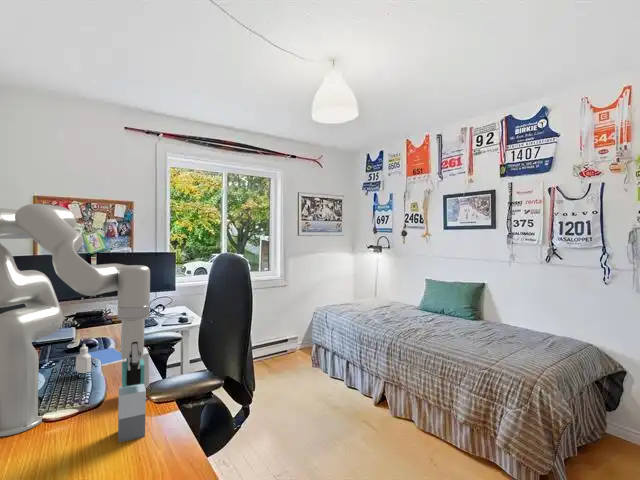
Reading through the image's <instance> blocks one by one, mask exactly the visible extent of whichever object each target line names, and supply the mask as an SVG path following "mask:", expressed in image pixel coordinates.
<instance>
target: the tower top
mask: <svg viewBox="0 0 640 480" xmlns="http://www.w3.org/2000/svg"><path fill="white" fill-rule="evenodd" d="M146 403H147V402H146V389H145V385H144V384H140V385H134V386H129V387H123V388H122V386H119V387H118V407H117V408H118V410H119V419H124V418H128V417H133V416H137V415H142V414H145V415H146V409H147V408H146Z"/></svg>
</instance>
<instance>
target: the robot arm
mask: <svg viewBox="0 0 640 480" xmlns="http://www.w3.org/2000/svg"><path fill="white" fill-rule="evenodd" d="M76 223H77V221H76V217H75V214H73V212H72V211H70V210H69V209H68V208H66V207H65V206H60V205H52V204H51V205H50V204H45V203H44V204H43V203H30V204H26V205H23V206H21V207H20V208H18V209H11V208H4V207H3V208H1V207H0V239H1V240H3V239H5V240H7V239H8V240H9V239H10V240H12V239H13V240H15V239H16V240H17V239H18V240H19V239H20V240H23V239H24V240H26V239H27V240H28V239H32V240H33V241H34V242H35V243H37V244H38V245H39V246H40V247H41V248H43V250H45V251H46V252H48V253H49V254H50V255H51V256H52V260H51V261H52V266H53V268H54V272H55V274H56V275H57V276H58V278H59V279H61V281H63V282H64V283H65V284H66V285H67V286H68V287H70V288H71V289H73V290H74V291H75V292H76V293H78V294H80V295H84V296H90V297H91V296H97V295H98V296H99V295H102V294H105V293H112V292H115V291H117V317H116V318H117V321H121V325H120V326H121V330H120V353H121V357H122V359H123V360H125V358H127V361H128V370H127V380H126V384H127V386H129V385H135V384H140V382H141V368H140V357H142V356H143V350H144V348H145V327H146V326H145V322H146V321H145V320H146V319H148V318H149V317H150V315H151V314H150V311H151V310H150V308H151V307H150V306H151V305H150V304H151V303H150V301H151V300H150V299H151V270H150V268H149V267H148V266H147V265H141V264H139V265H138V264H134V265H133V264H131V265H127V264H121V263H103V264H95V265H93V264H92V265H91V264H90V263H88V262H87V261H86V260H85V259H84V258H82V257H81V255H79V254H78V251H79V249H80V248H81V246H82V245H83V243H84V237H83V235H82V234H81V233H80V232H79V231H78V230H76V229H75V227H76ZM23 304H24V305H25V306H24V307H21V308H15V309H12V310H8V311H4V312H2V313H0V437H7V436H12V435H17V434H20V433H22V432H25V431H29V430H30V429H33V428H35V427H36V426H38V425H40V424H41V423H42V422H43V421H42V419H43V417H39V416H38V410H39V365H40V363H39V361H40V360H39V359H40V358H39V353H38V351H37V349H36V348H35V347H34V346H33V343H32V342H33V341H35V340H38V339H42V338H45V337H47V336H50V335H52V334H54V333H56V332H58V331H59V330H60V329H61V327H62V325H63V322H64V315H63V311H62V308H61V305H60V303H59V300H58V298H57V294H56V292H55V289H54V287H53V284H52V282H51V280H50V278H49V277H48V276H47V275H46V274H45V273H43V272H41V271H39V270H36V269H29V270H20V269H18V266H17V264H16V262H15V258H14V256H13V254H12V253H11V252H10V250H8V248H6V246H4V245H3V244H1V243H0V308H8V307H13V306H17V305H23ZM130 361H132V362H131V363H130ZM37 416H38V417H37Z"/></svg>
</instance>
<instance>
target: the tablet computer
mask: <svg viewBox="0 0 640 480" xmlns="http://www.w3.org/2000/svg"><path fill="white" fill-rule="evenodd" d="M88 354H90V356H91V357H93V358H97V359H99V360H100V361H101V364H102V367H105V366H106V367H107V366H110V365H114V364H117V363H122V362H125V361H127V358H125V360H123V359H122V357H121V351H118V350H117V349H116V348H113V347H112V348H111V347H110V348H104V349H100V350H95V351H91V352H88Z"/></svg>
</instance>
